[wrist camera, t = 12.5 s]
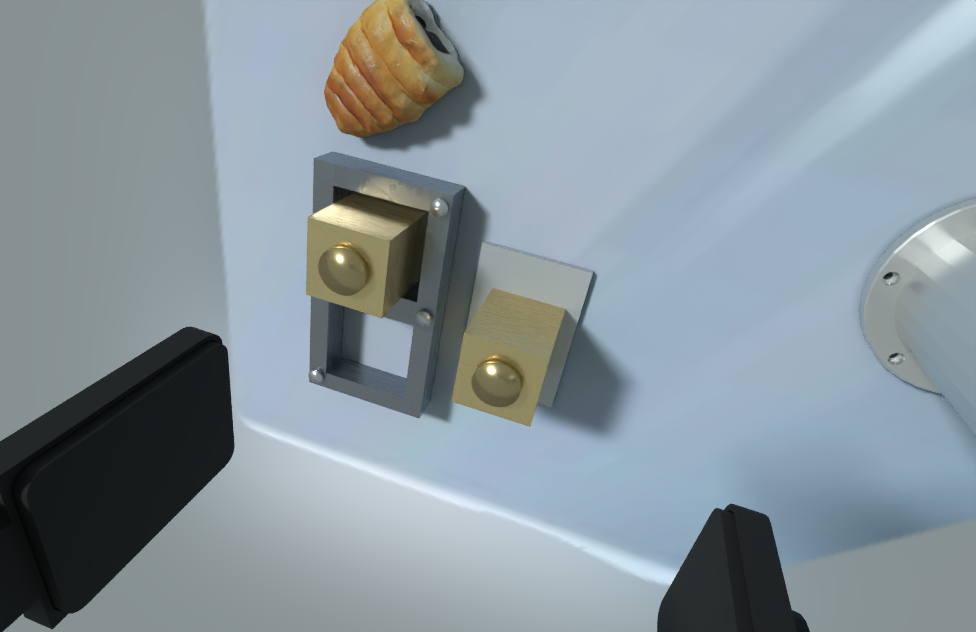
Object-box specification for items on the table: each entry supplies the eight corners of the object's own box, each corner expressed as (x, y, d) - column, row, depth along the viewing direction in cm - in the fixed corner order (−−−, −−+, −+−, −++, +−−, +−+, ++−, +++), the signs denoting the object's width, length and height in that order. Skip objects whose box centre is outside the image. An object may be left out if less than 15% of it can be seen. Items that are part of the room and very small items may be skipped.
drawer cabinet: (464, 186, 37) (451, 196, 35) (430, 400, 47) (417, 421, 44) (332, 151, 39) (310, 159, 36) (324, 366, 48) (306, 384, 46)
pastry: (376, 159, 38) (350, 170, 35) (314, 75, 37) (280, 78, 34) (477, 72, 34) (458, 76, 31) (411, -27, 33) (383, -34, 29)
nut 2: (565, 308, 39) (548, 363, 32) (548, 370, 42) (528, 432, 35) (492, 287, 40) (461, 337, 33) (480, 349, 42) (448, 406, 36)
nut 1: (430, 209, 39) (385, 244, 32) (421, 277, 41) (377, 322, 35) (360, 189, 40) (302, 219, 33) (355, 257, 42) (301, 298, 36)
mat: (593, 271, 38) (592, 273, 37) (552, 405, 43) (551, 408, 43) (483, 240, 39) (482, 242, 38) (458, 375, 45) (456, 377, 44)
